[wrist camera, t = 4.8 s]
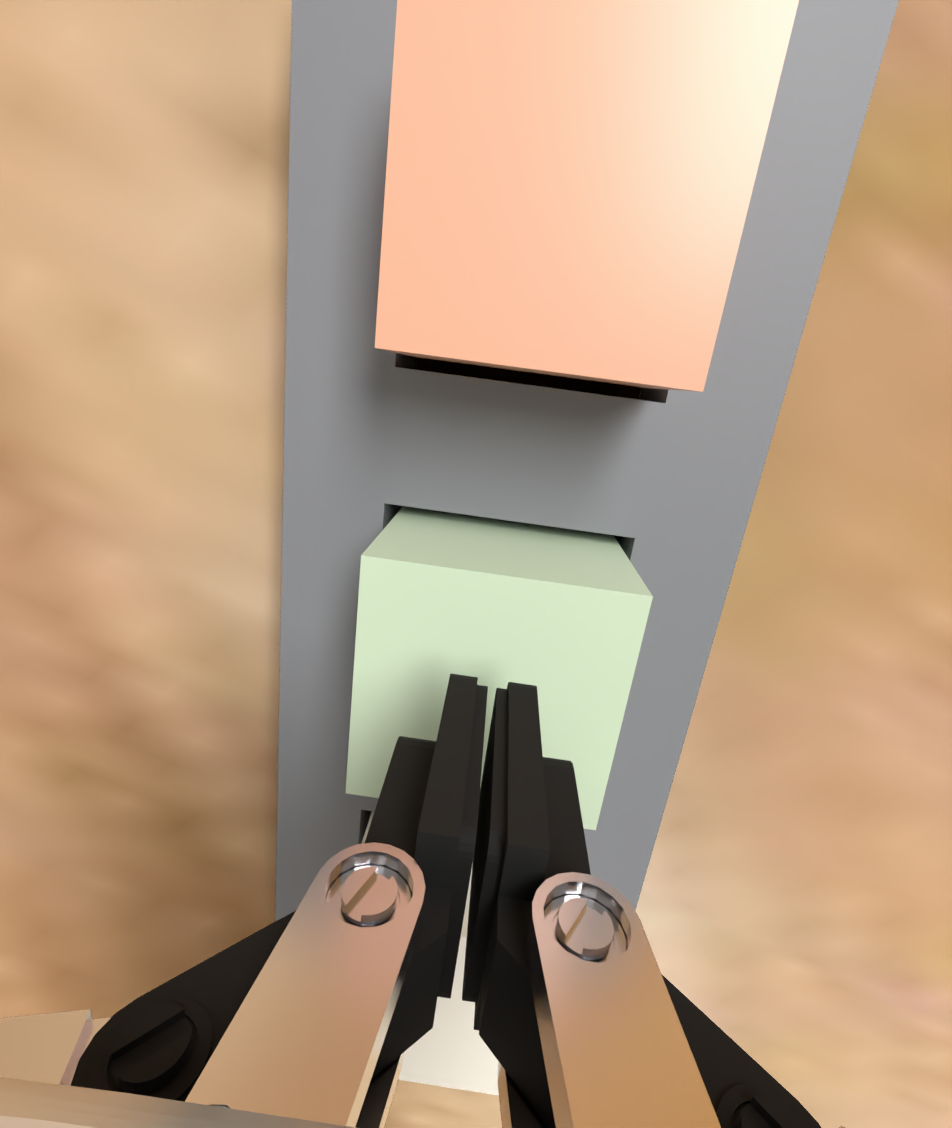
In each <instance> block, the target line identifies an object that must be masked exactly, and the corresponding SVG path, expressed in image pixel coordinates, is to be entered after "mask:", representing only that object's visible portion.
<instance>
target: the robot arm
mask: <svg viewBox="0 0 952 1128" xmlns="http://www.w3.org/2000/svg"><path fill="white" fill-rule="evenodd" d="M477 681H478V677H472V676H465V675H458V674H450V677H449V682H448V687H447V692H446V697H445V701H444V706H443V711H442V716H441V721H440V726H439V730H438V735H437V740H436V741H431V740H424V739H417V738H410V737H403V736H399V737H398V740H397V742H396V745H395V748H394V752H393V755H392V758H391V761H390V764H389V767H388V771H387V774H386V777H385V780H384V783H383V786H382V790H381V793H380V796H379V799H378V802H377V805H376V809H375V812H374V815H373V818H372V821H371V824H370V828H369V831H368V834H367V837H366V840H365V843H363V844H357V845H354V846H351V847H349V848H346V849H343V850H341V851H340V852H338V853H337V854H336V855H334V856H333V857H331V858H330V859H329V860H328V861H327V862H326V863H325V865H324V866H323V867H322V868H321V870H320V871H319V872H318V874H317V876H316V877H315V879H314V881H313V883H312V884H311V886H310V888H309V889H308V891H307V893H306V895H305V896H304V898H303V900H302V901H301V903H300V905H299V907H298V908H297V910H295V911H294V912H292V913H290V914H288V915H286V916H285V917H283V918H281V919H279V920H277V921H276V922H274V923H272V924H270V925H268V926H267V927H265V928H263V929H261V930H259V931H258V932H256V933H254V934H252V935H250V936H249V937H247V938H245V939H243V940H241V941H240V942H238V943H236V944H234V945H232V946H231V947H229V948H227V949H225V950H223V951H222V952H220V953H218V954H216V955H214V956H213V957H211V958H209V959H207V960H205V961H204V962H202V963H200V964H198V965H196V966H195V967H193V968H191V969H189V970H187V971H186V972H184V973H182V974H180V975H178V976H177V977H175V978H173V979H171V980H169V981H168V982H166V983H164V984H162V985H160V986H159V987H157V988H155V989H153V990H151V991H150V992H148V993H146V994H144V995H142V996H141V997H139V998H137V999H136V1000H134V1001H133V1002H131V1003H130V1004H128V1005H127V1006H126V1007H124V1008H123V1009H121V1010H120V1011H118V1012H117V1013H116V1014H114V1015H113V1016H112V1017H109V1018H99V1019H92V1015H91V1009H87V1010H77V1011H67V1012H56V1013H46V1014H36V1015H26V1016H15V1017H5V1018H0V1128H384V1126H385V1123H386V1119H387V1116H388V1113H389V1109H390V1106H391V1102H392V1099H393V1096H394V1092H395V1089H396V1085H397V1082H398V1078H399V1075H400V1072H401V1068H402V1063H403V1056H404V1052H405V1051H406V1050H407V1049H408V1048H409V1047H411V1046H412V1045H413V1044H414V1043H415V1042H417V1041H418V1040H419V1039H420V1038H421V1037H422V1036H424V1035H425V1034H426V1033H427V1032H428V1031H430V1030H431V1029H432V1028H433V1023H434V1017H435V1010H436V1003H437V997H443V998H449V999H450V998H451V993H452V987H453V981H454V974H455V968H456V962H457V956H458V950H459V943H460V937H461V931H462V925H463V919H464V912H465V906H466V900H467V894H468V888H469V882H470V875H471V869H472V877H471V890H470V902H469V915H468V927H467V940H466V952H465V965H464V977H463V990H462V1001H469V1002H475V1014H474V1030H479V1036H480V1037H481V1038H482V1040H483V1041H484V1042H485V1044H486V1045H487V1046H488V1048H489V1049H490V1051H491V1052H492V1053H493V1055H494V1056H495V1057H496V1059H497V1060H498V1081H497V1082H498V1092H499V1102H500V1111H501V1121H502V1128H821V1127H820V1125H819V1123H818V1122H817V1121H816V1120H815V1119H814V1118H813V1117H812V1116H811V1115H810V1113H809V1112H808V1111H807V1110H806V1109H805V1108H804V1107H803V1106H802V1105H801V1104H800V1102H799V1101H798V1100H797V1099H796V1098H794V1097H793V1096H792V1095H791V1094H790V1093H789V1092H788V1091H787V1090H786V1089H785V1088H784V1087H783V1086H782V1085H780V1084H779V1083H778V1082H777V1081H776V1080H775V1079H774V1078H773V1077H772V1076H771V1075H770V1074H769V1073H767V1072H766V1071H765V1070H764V1069H763V1068H762V1067H761V1066H760V1065H759V1064H758V1063H757V1062H756V1061H755V1060H753V1059H752V1058H751V1057H750V1056H749V1055H748V1054H747V1053H746V1052H745V1051H744V1050H743V1049H742V1048H740V1047H739V1046H738V1045H737V1044H736V1043H735V1042H734V1041H733V1040H732V1039H731V1038H730V1037H729V1036H728V1035H726V1034H725V1033H724V1032H723V1031H722V1030H721V1029H720V1028H719V1027H718V1026H717V1025H716V1024H715V1023H714V1022H712V1021H711V1020H710V1019H709V1018H708V1017H707V1016H706V1015H705V1014H704V1013H703V1012H702V1011H701V1010H699V1009H698V1008H697V1007H696V1006H695V1005H694V1004H693V1003H692V1002H691V1001H690V1000H689V999H688V998H687V997H685V996H684V995H683V994H682V993H681V992H680V991H679V990H678V989H677V988H676V987H675V986H674V985H673V984H671V983H670V982H669V981H668V980H667V979H666V978H665V977H664V976H663V975H662V974H661V972H660V970H659V967H658V965H657V962H656V959H655V957H654V954H653V952H652V949H651V947H650V944H649V942H648V939H647V936H646V934H645V931H644V929H643V926H642V924H641V921H640V919H639V917H638V915H637V913H636V912H635V910H634V908H633V906H632V904H631V903H630V902H629V901H628V900H627V899H626V898H625V897H624V896H623V895H622V893H621V892H620V891H618V890H617V889H616V888H614V887H613V886H611V885H610V884H608V883H607V882H606V881H604V880H601V879H599V878H597V877H594V876H592V875H591V872H590V866H589V860H588V853H587V847H586V841H585V835H584V828H583V822H582V816H581V809H580V803H579V797H578V791H577V784H576V778H575V772H574V767H573V763H572V762H571V761H568V760H561V759H554V758H548V757H543V755H542V743H541V731H540V718H539V706H538V694H537V686H535V685H528V684H521V683H514V682H508V685H507V689H503V688H496V693H495V699H494V706H493V712H492V718H491V725H490V731H489V737H488V743H487V750H486V756H485V762H484V769H483V775H482V781H481V771H482V758H483V745H484V731H485V718H486V705H487V692H488V686H482V685H477ZM480 784H481V788H480ZM472 863H473V865H472ZM839 1128H845V1127H843V1126H840V1127H839Z"/></svg>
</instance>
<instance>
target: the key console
mask: <svg viewBox="0 0 952 1128" xmlns="http://www.w3.org/2000/svg"><path fill="white" fill-rule="evenodd" d="M898 1H899V0H799V3H798V7H797V11H796V15H795V19H794V23H793V27H792V31H791V35H790V39H789V44H788V48H787V52H786V56H785V60H784V64H783V68H782V72H781V76H780V80H779V84H778V88H777V92H776V97H775V101H774V105H773V109H772V113H771V117H770V121H769V125H768V129H767V133H766V137H765V141H764V146H763V150H762V154H761V158H760V162H759V166H758V170H757V174H756V178H755V182H754V186H753V190H752V195H751V199H750V203H749V207H748V211H747V215H746V219H745V223H744V227H743V231H742V235H741V239H740V243H739V248H738V252H737V256H736V260H735V264H734V268H733V272H732V276H731V280H730V284H729V288H728V292H727V297H726V301H725V305H724V309H723V313H722V317H721V321H720V325H719V329H718V333H717V337H716V341H715V346H714V350H713V354H712V358H711V362H710V366H709V370H708V374H707V378H706V382H705V386H704V390H703V392H698V391H682V390H667V389H652V388H641V392H640V396H639V399H634V398H626V397H619V396H611V395H604V394H596V393H589V392H582V391H574V390H567V389H559V388H552V387H544V386H537V385H530V384H522V383H515V382H507V381H500V380H492V379H485V378H477V377H470V376H463V375H455V374H448V373H440V372H433V371H425V370H418V369H415V364H416V357H412V356H408V355H404V354H399V353H395V352H391V351H386V350H382V349H377V348H375V334H376V319H377V303H378V288H379V273H380V257H381V242H382V227H383V211H384V196H385V181H386V165H387V150H388V135H389V119H390V104H391V89H392V73H393V58H394V43H395V28H396V12H397V0H292V22H291V77H290V132H289V187H288V242H287V298H286V353H285V408H284V463H283V518H282V574H281V629H280V684H279V739H278V794H277V849H276V905H275V922H276V921H277V920H279V919H281V918H283V917H285V916H286V915H288V914H290V913H292V912H294V911H295V910H297V908H298V907H299V905H300V903H301V901H302V900H303V898H304V896H305V895H306V893H307V891H308V889H309V888H310V886H311V884H312V883H313V881H314V879H315V877H316V876H317V874H318V872H319V871H320V870H321V868H322V867H323V866H324V865H325V863H326V862H327V861H328V860H329V859H330V858H331V857H333V856H334V855H336V854H337V853H338V852H340V851H341V850H343V849H346V848H349V847H351V846H354V845H357V844H361V843H362V840H363V837H364V834H365V831H366V828H367V825H368V822H369V819H370V816H371V812H372V811H375V809H376V805H377V802H378V799H379V798H374V797H367V796H361V795H354V794H347V793H346V778H347V763H348V748H349V732H350V717H351V702H352V686H353V671H354V656H355V640H356V625H357V610H358V594H359V579H360V564H361V555H362V554H363V553H364V551H365V550H366V549H367V548H368V547H369V546H370V544H371V543H372V542H373V541H374V540H375V539H376V537H377V536H378V535H379V534H380V533H381V532H382V530H383V529H384V528H385V527H386V526H387V525H388V523H389V522H390V521H391V520H392V519H393V518H394V516H395V515H396V514H397V513H398V512H399V511H400V509H401V508H402V507H403V506H407V507H414V508H421V509H429V510H436V511H443V512H450V513H457V514H465V515H472V516H479V517H486V518H493V519H501V520H508V521H515V522H522V523H530V524H537V525H544V526H551V527H558V528H566V529H573V530H580V531H587V532H594V533H602V534H609V535H613V536H614V537H615V539H616V540H617V542H618V543H619V545H620V546H621V548H622V549H623V551H624V553H625V554H626V556H627V557H628V559H629V560H630V562H631V563H632V565H633V566H634V568H635V569H636V571H637V573H638V574H639V576H640V577H641V579H642V580H643V582H644V583H645V585H646V586H647V588H648V590H649V591H650V593H651V594H652V596H653V599H652V603H651V607H650V611H649V615H648V619H647V623H646V627H645V631H644V635H643V639H642V643H641V648H640V652H639V656H638V660H637V664H636V668H635V672H634V676H633V680H632V684H631V688H630V692H629V696H628V701H627V705H626V709H625V713H624V717H623V721H622V725H621V729H620V733H619V737H618V741H617V745H616V750H615V754H614V758H613V762H612V766H611V770H610V774H609V778H608V782H607V786H606V790H605V794H604V799H603V803H602V807H601V811H600V815H599V819H598V823H597V827H596V830H590V829H584V835H585V841H586V847H587V853H588V860H589V866H590V872H591V875H592V876H594V877H597V878H599V879H601V880H604V881H606V882H607V883H608V884H610V885H611V886H613V887H614V888H616V889H617V890H618V891H620V892H621V893H622V895H623V896H624V897H625V898H626V899H627V900H628V901H629V902H630V903H631V904H632V906H633V908H634V910H635V909H636V906H637V902H638V899H639V895H640V892H641V889H642V885H643V882H644V878H645V875H646V871H647V868H648V864H649V861H650V857H651V854H652V851H653V847H654V844H655V840H656V837H657V833H658V830H659V826H660V823H661V820H662V816H663V813H664V809H665V806H666V802H667V799H668V795H669V792H670V788H671V785H672V782H673V778H674V775H675V771H676V768H677V764H678V761H679V757H680V754H681V750H682V747H683V744H684V740H685V737H686V733H687V730H688V726H689V723H690V719H691V716H692V712H693V709H694V706H695V702H696V699H697V695H698V692H699V688H700V685H701V681H702V678H703V674H704V671H705V668H706V664H707V661H708V657H709V654H710V650H711V647H712V643H713V640H714V637H715V633H716V630H717V626H718V623H719V619H720V616H721V612H722V609H723V605H724V602H725V599H726V595H727V592H728V588H729V585H730V581H731V578H732V574H733V571H734V567H735V564H736V561H737V557H738V554H739V550H740V547H741V543H742V540H743V536H744V533H745V529H746V526H747V523H748V519H749V516H750V512H751V509H752V505H753V502H754V498H755V495H756V491H757V488H758V485H759V481H760V478H761V474H762V471H763V467H764V464H765V460H766V457H767V454H768V450H769V447H770V443H771V440H772V436H773V433H774V429H775V426H776V422H777V419H778V416H779V412H780V409H781V405H782V402H783V398H784V395H785V391H786V388H787V384H788V381H789V378H790V374H791V371H792V367H793V364H794V360H795V357H796V353H797V350H798V346H799V343H800V340H801V336H802V333H803V329H804V326H805V322H806V319H807V315H808V312H809V309H810V305H811V302H812V298H813V295H814V291H815V288H816V284H817V281H818V277H819V274H820V271H821V267H822V264H823V260H824V257H825V253H826V250H827V246H828V243H829V239H830V236H831V233H832V229H833V226H834V222H835V219H836V215H837V212H838V208H839V205H840V201H841V198H842V195H843V191H844V188H845V184H846V181H847V177H848V174H849V170H850V167H851V163H852V160H853V157H854V153H855V150H856V146H857V143H858V139H859V136H860V132H861V129H862V126H863V122H864V119H865V115H866V112H867V108H868V105H869V101H870V98H871V94H872V91H873V88H874V84H875V81H876V77H877V74H878V70H879V67H880V63H881V60H882V56H883V53H884V50H885V46H886V43H887V39H888V36H889V32H890V29H891V25H892V22H893V18H894V15H895V12H896V8H897V5H898Z"/></svg>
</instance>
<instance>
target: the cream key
mask: <svg viewBox="0 0 952 1128" xmlns="http://www.w3.org/2000/svg"><path fill="white" fill-rule="evenodd" d="M374 812H375V811H372V812H371V816H370V819H369V822H368V825H367V828H366V831H365V834H364V837H363V840H362V843H361V844H363V843H365V840H366V837H367V834H368V831H369V828H370V824H371V821H372V818H373V815H374ZM472 865H473V863H472ZM471 877H472V869H471V875H470V882H469V888H468V894H467V900H466V906H465V912H464V919H463V925H462V931H461V937H460V943H459V950H458V956H457V962H456V968H455V974H454V981H453V987H452V993H451V998H450V999H449V998H443V997H437V1003H436V1010H435V1017H434V1023H433V1028H432V1029H431V1030H430V1031H428V1032H427V1033H426V1034H425V1035H424V1036H422V1037H421V1038H420V1039H419V1040H418V1041H417V1042H415V1043H414V1044H413V1045H412V1046H411V1047H409V1048H408V1049H407V1050H406V1051H405V1052H404V1056H403V1063H402V1068H401V1072H400V1075H399V1078H398V1080H403V1081H410V1082H416V1083H422V1084H429V1085H435V1086H441V1087H448V1088H454V1089H461V1090H467V1091H473V1092H480V1093H486V1094H492V1095H499V1092H498V1082H497V1081H498V1060H497V1059H496V1057H495V1056H494V1055H493V1053H492V1052H491V1051H490V1049H489V1048H488V1046H487V1045H486V1044H485V1042H484V1041H483V1040H482V1038H481V1037H480V1036H479V1030H474V1014H475V1002H469V1001H462V990H463V977H464V965H465V952H466V940H467V927H468V915H469V902H470V890H471Z"/></svg>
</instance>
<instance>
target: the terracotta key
mask: <svg viewBox="0 0 952 1128" xmlns="http://www.w3.org/2000/svg"><path fill="white" fill-rule="evenodd" d="M798 3H799V0H397V12H396V28H395V43H394V58H393V73H392V89H391V104H390V119H389V135H388V150H387V165H386V181H385V196H384V211H383V227H382V242H381V257H380V273H379V288H378V303H377V319H376V334H375V348H377V349H382V350H386V351H391V352H395V353H399V354H404V355H408V356H412V357H417V358H423V359H431V360H438V361H446V362H453V363H460V364H468V365H475V366H483V367H490V368H498V369H505V370H513V371H520V372H528V373H535V374H543V375H550V376H557V377H565V378H572V379H580V380H587V381H595V382H602V383H610V384H617V385H625V386H632V387H639V388H652V389H667V390H682V391H698V392H703V390H704V386H705V382H706V378H707V374H708V370H709V366H710V362H711V358H712V354H713V350H714V346H715V341H716V337H717V333H718V329H719V325H720V321H721V317H722V313H723V309H724V305H725V301H726V297H727V292H728V288H729V284H730V280H731V276H732V272H733V268H734V264H735V260H736V256H737V252H738V248H739V243H740V239H741V235H742V231H743V227H744V223H745V219H746V215H747V211H748V207H749V203H750V199H751V195H752V190H753V186H754V182H755V178H756V174H757V170H758V166H759V162H760V158H761V154H762V150H763V146H764V141H765V137H766V133H767V129H768V125H769V121H770V117H771V113H772V109H773V105H774V101H775V97H776V92H777V88H778V84H779V80H780V76H781V72H782V68H783V64H784V60H785V56H786V52H787V48H788V44H789V39H790V35H791V31H792V27H793V23H794V19H795V15H796V11H797V7H798Z"/></svg>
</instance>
